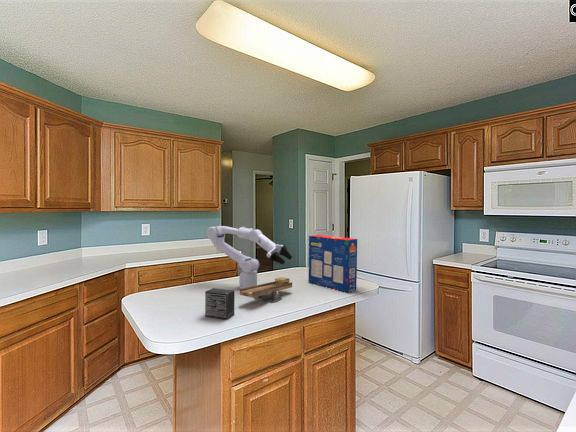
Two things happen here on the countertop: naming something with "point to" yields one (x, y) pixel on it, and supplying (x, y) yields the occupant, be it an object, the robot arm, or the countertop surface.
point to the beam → (263, 289)
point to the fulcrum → (270, 297)
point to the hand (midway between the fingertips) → (287, 260)
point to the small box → (219, 303)
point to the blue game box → (333, 262)
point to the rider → (281, 280)
